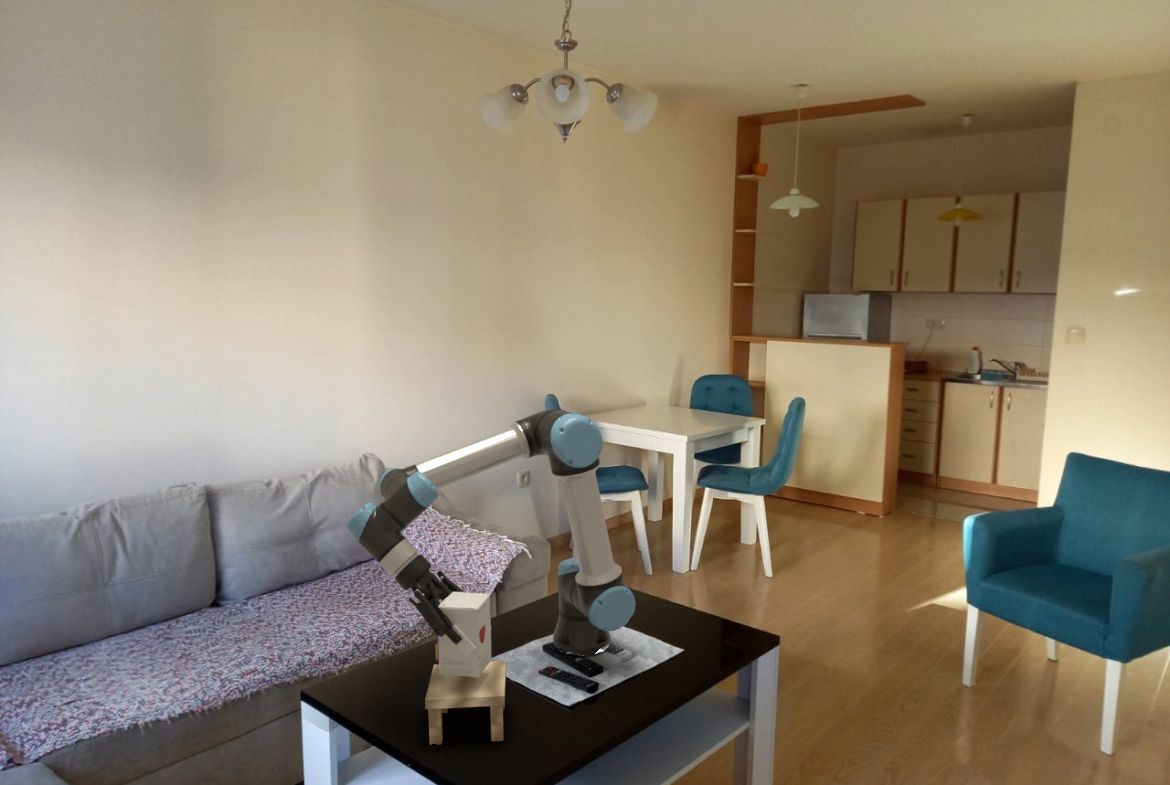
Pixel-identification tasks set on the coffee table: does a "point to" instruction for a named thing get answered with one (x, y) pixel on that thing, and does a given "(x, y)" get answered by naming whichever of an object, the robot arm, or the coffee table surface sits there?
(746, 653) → the coffee table surface
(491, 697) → the low wooden platform
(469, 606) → the supplement box
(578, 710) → the coffee table surface
